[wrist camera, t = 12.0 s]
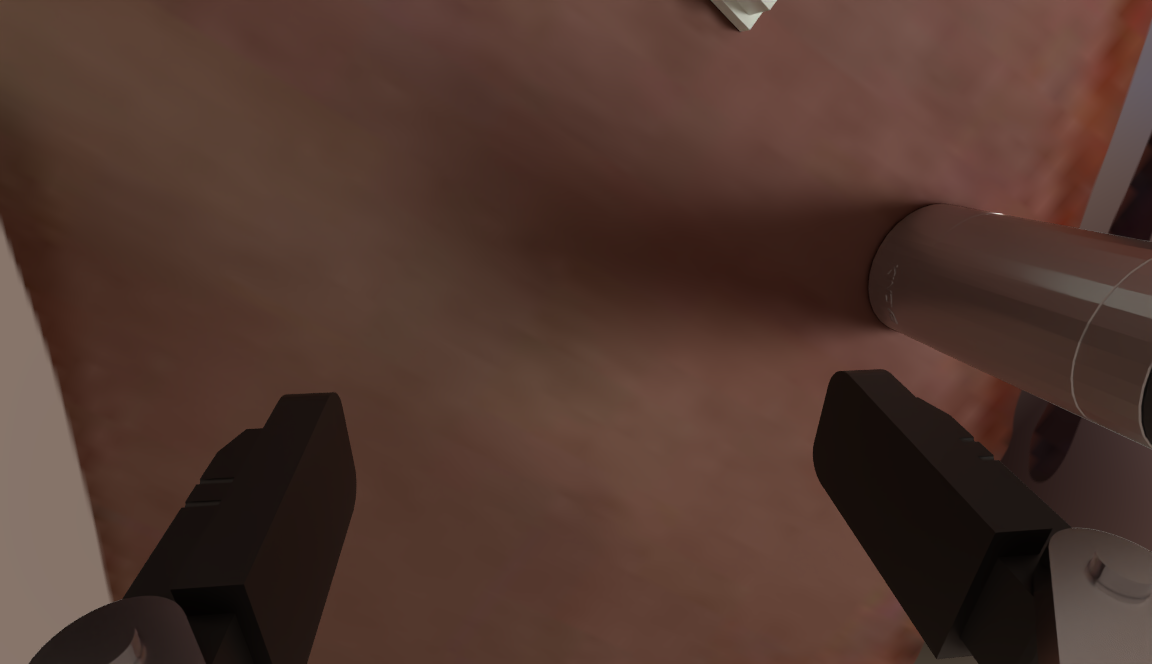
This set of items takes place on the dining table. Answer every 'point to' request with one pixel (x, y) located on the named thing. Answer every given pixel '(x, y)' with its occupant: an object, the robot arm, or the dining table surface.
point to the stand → (743, 11)
